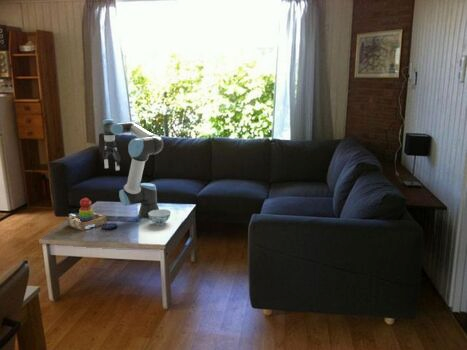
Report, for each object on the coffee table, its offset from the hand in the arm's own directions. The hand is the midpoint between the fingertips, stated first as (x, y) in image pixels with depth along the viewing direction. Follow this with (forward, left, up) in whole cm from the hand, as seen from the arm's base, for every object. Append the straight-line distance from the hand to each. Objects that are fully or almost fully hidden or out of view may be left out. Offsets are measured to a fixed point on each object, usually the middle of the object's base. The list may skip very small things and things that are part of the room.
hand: (112, 169), depth 309 cm
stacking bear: (-13, +32, -31) cm, 46 cm away
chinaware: (-51, 0, -32) cm, 60 cm away
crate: (-13, +32, -32) cm, 46 cm away
